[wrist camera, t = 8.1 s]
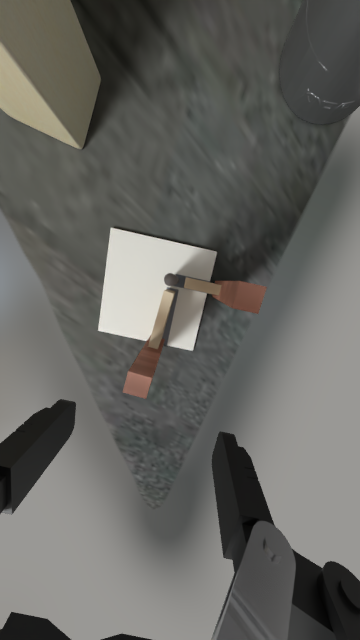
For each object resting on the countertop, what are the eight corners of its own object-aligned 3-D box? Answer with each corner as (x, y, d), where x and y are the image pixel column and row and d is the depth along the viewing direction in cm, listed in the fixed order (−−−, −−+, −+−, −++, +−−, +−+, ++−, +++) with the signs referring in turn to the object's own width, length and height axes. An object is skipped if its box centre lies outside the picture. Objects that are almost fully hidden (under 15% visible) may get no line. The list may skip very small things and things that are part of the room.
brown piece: (172, 271, 21) (162, 263, 12) (229, 284, 21) (266, 287, 12) (169, 286, 22) (157, 291, 12) (225, 299, 22) (258, 313, 12)
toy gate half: (163, 287, 21) (149, 293, 12) (179, 292, 21) (175, 301, 12) (146, 348, 22) (122, 392, 14) (160, 352, 23) (145, 398, 14)
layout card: (112, 228, 20) (110, 227, 20) (216, 252, 21) (217, 251, 20) (99, 329, 23) (97, 330, 22) (192, 349, 23) (192, 351, 23)
